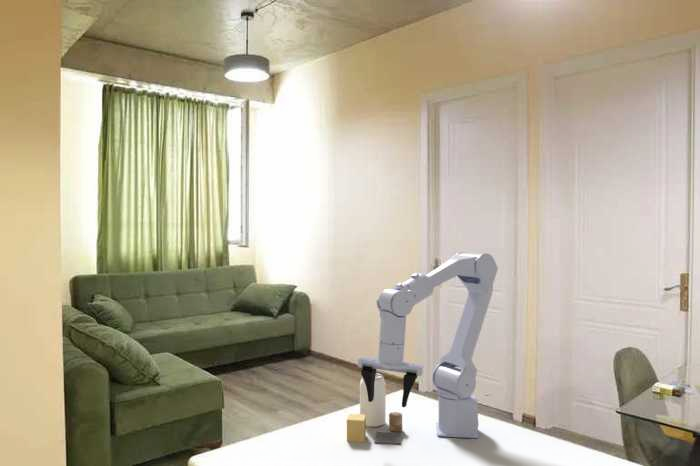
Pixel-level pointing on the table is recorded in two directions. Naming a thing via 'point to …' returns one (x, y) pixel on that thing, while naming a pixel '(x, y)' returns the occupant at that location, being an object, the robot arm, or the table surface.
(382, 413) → the can
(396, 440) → the coaster
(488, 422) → the table surface
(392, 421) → the cork cylinder
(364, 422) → the ochre block
